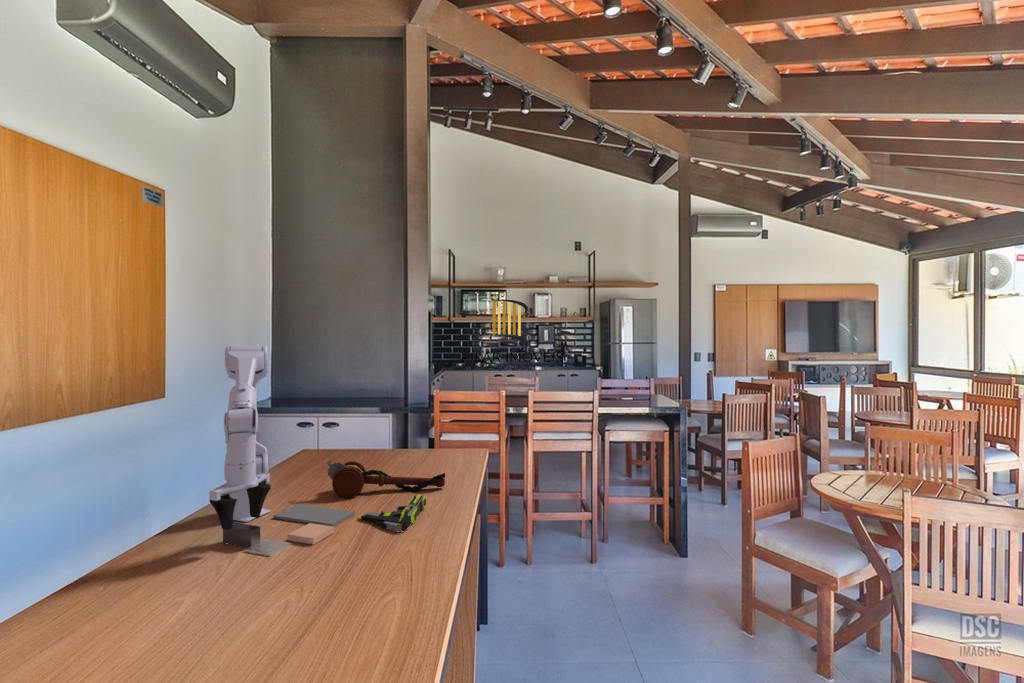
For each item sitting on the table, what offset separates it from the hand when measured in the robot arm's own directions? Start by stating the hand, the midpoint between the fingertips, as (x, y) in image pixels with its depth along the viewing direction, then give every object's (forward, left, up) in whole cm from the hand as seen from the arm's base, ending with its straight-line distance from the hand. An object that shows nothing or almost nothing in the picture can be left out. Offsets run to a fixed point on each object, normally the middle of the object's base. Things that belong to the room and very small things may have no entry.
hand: (241, 522), depth 112 cm
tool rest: (+4, +19, -5) cm, 20 cm away
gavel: (+10, +43, -5) cm, 45 cm away
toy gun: (+22, +25, -6) cm, 34 cm away
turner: (+3, 0, -5) cm, 6 cm away
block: (+9, +8, -4) cm, 12 cm away
